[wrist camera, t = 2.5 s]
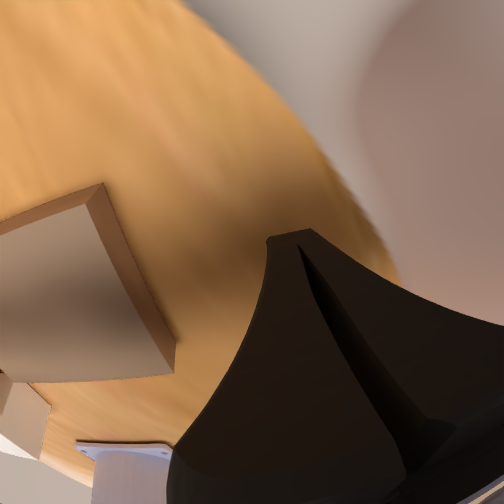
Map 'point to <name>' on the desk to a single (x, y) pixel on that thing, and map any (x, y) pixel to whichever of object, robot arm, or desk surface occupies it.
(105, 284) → the walnut panel
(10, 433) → the white shelf
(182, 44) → the desk surface
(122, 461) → the robot arm
